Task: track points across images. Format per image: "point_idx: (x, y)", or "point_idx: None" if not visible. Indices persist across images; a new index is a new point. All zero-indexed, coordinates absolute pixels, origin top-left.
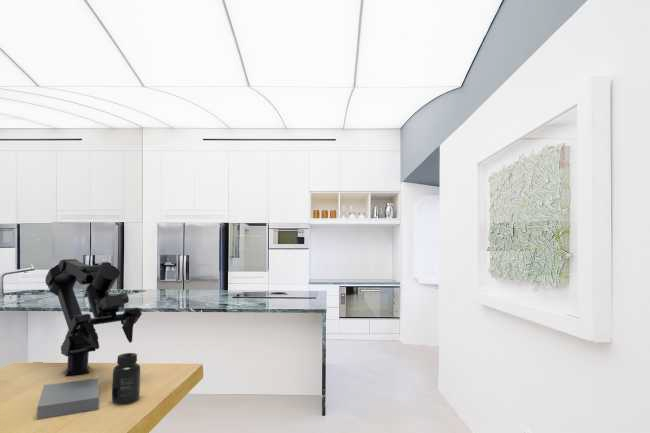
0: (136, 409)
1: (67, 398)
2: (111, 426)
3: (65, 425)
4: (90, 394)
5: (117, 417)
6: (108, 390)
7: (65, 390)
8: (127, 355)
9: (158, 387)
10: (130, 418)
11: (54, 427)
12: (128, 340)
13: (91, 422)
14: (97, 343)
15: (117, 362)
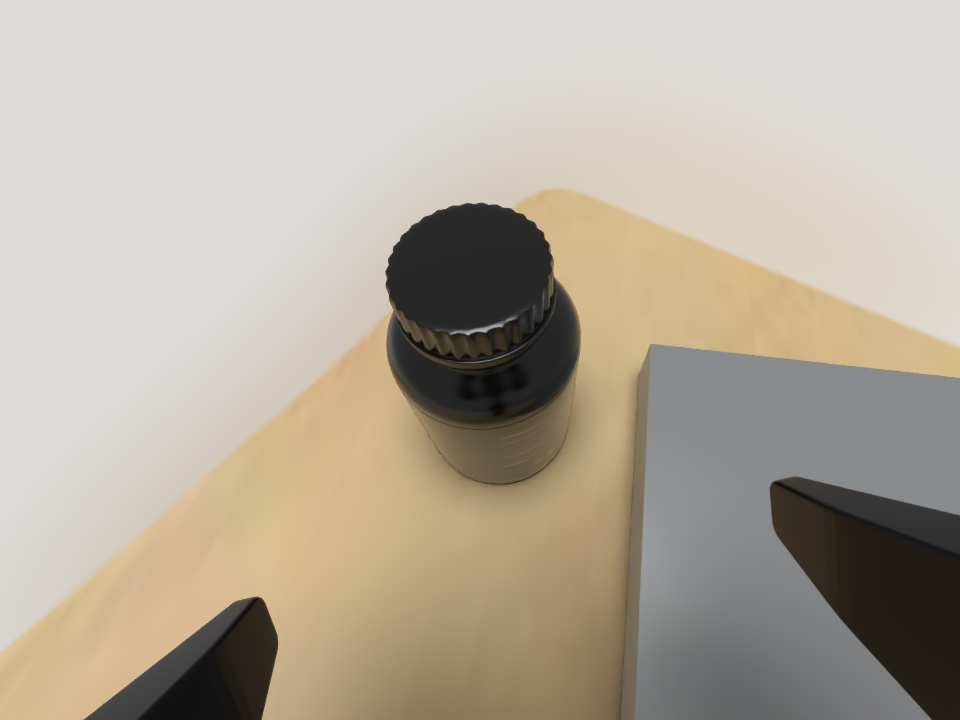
0: None
1: (832, 419)
2: (604, 208)
3: (776, 287)
4: (696, 411)
5: (573, 262)
6: (552, 651)
7: None
8: (468, 257)
9: (292, 502)
10: None
11: (820, 290)
12: (261, 696)
13: (672, 266)
14: (836, 497)
15: (555, 285)
